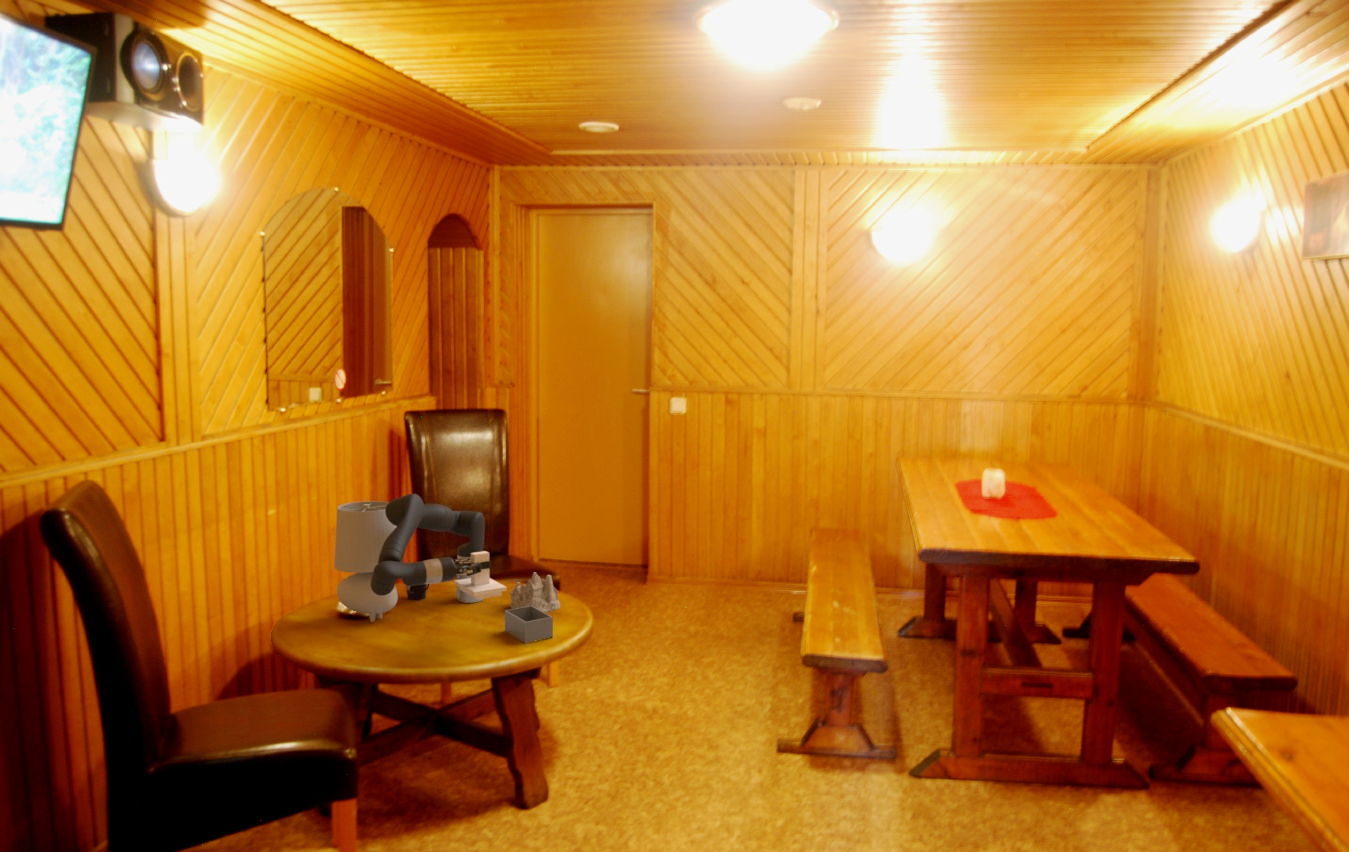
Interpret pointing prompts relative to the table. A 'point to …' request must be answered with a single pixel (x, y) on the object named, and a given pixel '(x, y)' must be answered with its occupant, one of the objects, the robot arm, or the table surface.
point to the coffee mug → (417, 592)
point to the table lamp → (362, 555)
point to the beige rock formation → (536, 594)
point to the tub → (528, 624)
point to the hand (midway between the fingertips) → (488, 563)
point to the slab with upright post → (480, 580)
